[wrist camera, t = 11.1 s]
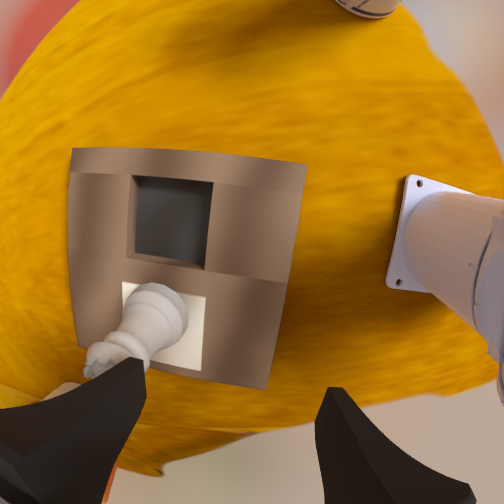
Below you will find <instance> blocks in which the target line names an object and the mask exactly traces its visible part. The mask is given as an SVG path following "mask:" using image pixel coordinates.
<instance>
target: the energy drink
mask: <svg viewBox="0 0 504 504" xmlns="http://www.w3.org/2000/svg"><path fill="white" fill-rule="evenodd" d="M335 1H336V2H337V3H338V4H339V5H341V6H342V7H343V8H345V9H346V10H348V11H350V12H352V13H354V14H356V15H359V16H362V17H366V18H373V19H377V18H384V17H387V16H389V15H390V14H391V13H392V12H393V11H394V10H395V9H396V7H397V6H398V5H399V4H400V2H401V1H402V0H335Z"/></svg>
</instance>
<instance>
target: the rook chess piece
mask: <svg viewBox="0 0 504 504" xmlns="http://www.w3.org/2000/svg"><path fill="white" fill-rule="evenodd" d="M188 321H189V314H188V311H187V308H186V305H185V302H184V301H183V300H182V299H181V298H180V296H179V295H178V294H177V293H176V292H175V291H173V290H172V289H170V288H168V287H167V286H165V285H162V284H157V283H152V282H151V283H147V284H142V285H140V286H139V287H137V288H136V289H135V290H134V291H132V293H131V295H130V296H128V297H127V300H126V302H125V304H124V307H123V310H122V322H121V324H120V325H119V327H118V329H117V330H116V331H115V332H110V333H109V334H108V335H107V336H105V339H104V342H96V343H94V344H92V345H91V346H90V347H89V348H88V350H87V354H86V360H87V361H86V362H85V363H84V364H85V365H87V366H86V367H85V368H84V369H83V373H84V377H85V378H90V377H92V379H94V378H95V377H97V376H99V375H100V374H102V373H104V372H105V371H107V370H108V369H110V368H112V367H113V366H115V365H116V364H118V363H119V362H121V361H123V360H124V359H126V358H128V357H129V356H130V357H134V358H138V359H142V360H143V361H144V373H145V372H146V371H147V370H148V368H149V366H150V358H151V357H152V356H153V355H154V354H155V353H156V352H157V351H161V350H163V349H167V348H169V347H171V346H172V345H174V344H175V343H177V342H178V341H179V340H180V338H181V336H183V334H184V333H185V331H186V329H187V327H188Z"/></svg>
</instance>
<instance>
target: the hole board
mask: <svg viewBox="0 0 504 504" xmlns="http://www.w3.org/2000/svg"><path fill="white" fill-rule="evenodd" d="M306 169H307V165H303V164H297V163H291V162H285V161H278V160H271V159H264V158H256V157H248V156H240V155H231V154H222V153H211V152H200V151H187V150H172V149H152V148H72V155H71V165H70V177H69V194H68V259H69V275H70V287H71V297H72V306H73V314H74V321H75V328H76V334H77V340H78V346H79V347H82V348H85V349H88V348H89V347H90V346H91V345H92V344H94V343H96V342H104V339H105V336H107V335H108V334H109V333H110V332H115V331H116V330H117V329H118V327H119V325H120V324H121V322H122V310H123V307H124V304H125V302H126V300H127V297H128V296H130V295H131V293H132V291H134V290H135V289H136V288H137V287H139V286H140V285H142V284H147V283H151V282H152V283H157V284H162V285H165V286H167V287H168V288H170V289H172V290H173V291H175V292H176V293H177V294H178V295H179V296H180V298H181V299H182V300H183V301H184V302H185V305H186V308H187V311H188V314H189V321H188V327H187V329H186V331H185V333H184V334H183V336H181V338H180V340H179V341H178V342H177V343H175V344H174V345H172V346H171V347H169V348H167V349H163V350H161V351H157V352H156V353H155V354H154V355H153V356H152V357H151V358H150V366H149V368H152V369H156V370H160V371H164V372H168V373H173V374H177V375H182V376H186V377H191V378H196V379H201V380H206V381H212V382H218V383H223V384H230V385H236V386H243V387H250V388H257V389H266V388H267V384H268V379H269V375H270V370H271V366H272V361H273V356H274V351H275V347H276V342H277V337H278V332H279V327H280V322H281V317H282V312H283V307H284V302H285V296H286V291H287V286H288V280H289V275H290V269H291V263H292V258H293V252H294V246H295V240H296V234H297V228H298V222H299V216H300V209H301V203H302V196H303V190H304V183H305V176H306Z"/></svg>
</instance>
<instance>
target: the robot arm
mask: <svg viewBox="0 0 504 504" xmlns="http://www.w3.org/2000/svg"><path fill="white" fill-rule="evenodd" d="M418 180H419V181H420V186H419V187H418V186H417V181H418ZM398 279H400V282H399V283H398V284H396V281H397V280H398ZM385 283H386V285H387V286H388V287H389V288H394V289H402V290H410V291H418V292H427V293H432V294H433V295H434V296H435V297H437V298H438V299H439V300H440V301H441V302H443V303H444V304H445V305H446V306H447V307H449V308H450V309H451V310H452V311H453V312H455V313H456V314H457V315H458V316H459V317H460V318H462V319H463V320H464V321H465V322H466V323H467V324H469V325H470V326H471V327H472V328H473V329H474V330H475V331H476V332H478V333H479V334H480V335H481V336H482V337H483V338H484V339H485V340H486V341H487V343H488V354H489V355H490V356H491V357H492V358H493V359H494V360H495V361H496V362H497V363H498V364H499V365H500V366H499V370H498V375H497V391H498V395H499V398H500V401H501V403H502V404H503V406H504V200H502V199H497V198H491V197H485V196H478V195H475V194H472V193H470V192H467V191H464V190H461V189H458V188H455V187H452V186H449V185H446V184H443V183H440V182H437V181H434V180H431V179H427V178H424V177H421V176H417V175H408V176H407V177H406V180H405V186H404V193H403V199H402V205H401V211H400V216H399V222H398V227H397V232H396V237H395V241H394V246H393V250H392V255H391V259H390V263H389V267H388V271H387V275H386V279H385ZM146 397H147V395H146V385H145V374H144V361H143V360H142V359H138V358H134V357H130V356H129V357H128V358H126V359H124V360H123V361H121V362H119V363H118V364H116V365H115V366H113V367H112V368H110V369H108V370H107V371H105V372H104V373H102V374H100V375H99V376H97V377H95V378H94V379H92V380H90V381H88V382H86V383H84V384H82V385H80V386H79V387H77V388H75V389H73V390H71V391H68V392H66V393H64V394H61V395H59V396H56V397H53V398H51V399H48V400H44V401H41V402H37V403H33V404H30V405H25V406H20V407H13V408H6V409H0V504H101V503H102V500H103V496H104V493H105V490H106V487H107V484H108V481H109V478H110V475H111V472H112V470H113V467H114V464H115V462H116V460H117V458H118V455H119V453H120V452H121V450H122V448H123V446H124V444H125V442H126V440H127V439H128V437H129V435H130V433H131V431H132V429H133V428H134V426H135V424H136V422H137V420H138V418H139V416H140V414H141V411H142V408H143V406H144V403H145V400H146ZM315 441H316V442H315V443H316V449H317V454H318V460H319V465H320V471H321V476H322V482H323V487H324V497H325V498H324V499H325V504H476V501H477V500H476V498H475V496H474V494H473V492H472V490H471V488H470V486H469V484H467V483H464V482H461V481H458V480H455V479H453V478H449V477H447V476H445V475H443V474H440V473H438V472H436V471H434V470H432V469H430V468H429V467H427V466H425V465H423V464H422V463H420V462H418V461H417V460H415V459H414V458H412V457H411V456H409V455H408V454H406V453H405V452H404V451H403V450H401V449H400V448H399V447H398V446H396V445H395V444H394V443H393V442H392V441H390V440H389V439H388V438H387V437H386V436H385V435H384V434H383V433H382V432H381V431H380V430H379V429H378V428H377V427H376V426H375V425H374V424H373V423H372V422H371V421H370V420H369V418H368V417H367V416H366V415H365V414H364V413H363V412H362V410H361V409H360V408H359V407H358V406H357V404H356V403H355V402H354V401H353V400H352V398H351V397H350V396H349V395H348V393H347V392H346V391H345V390H344V389H343V388H339V387H328V388H327V391H326V394H325V396H324V399H323V402H322V404H321V407H320V409H319V412H318V414H317V417H316V419H315Z"/></svg>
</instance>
